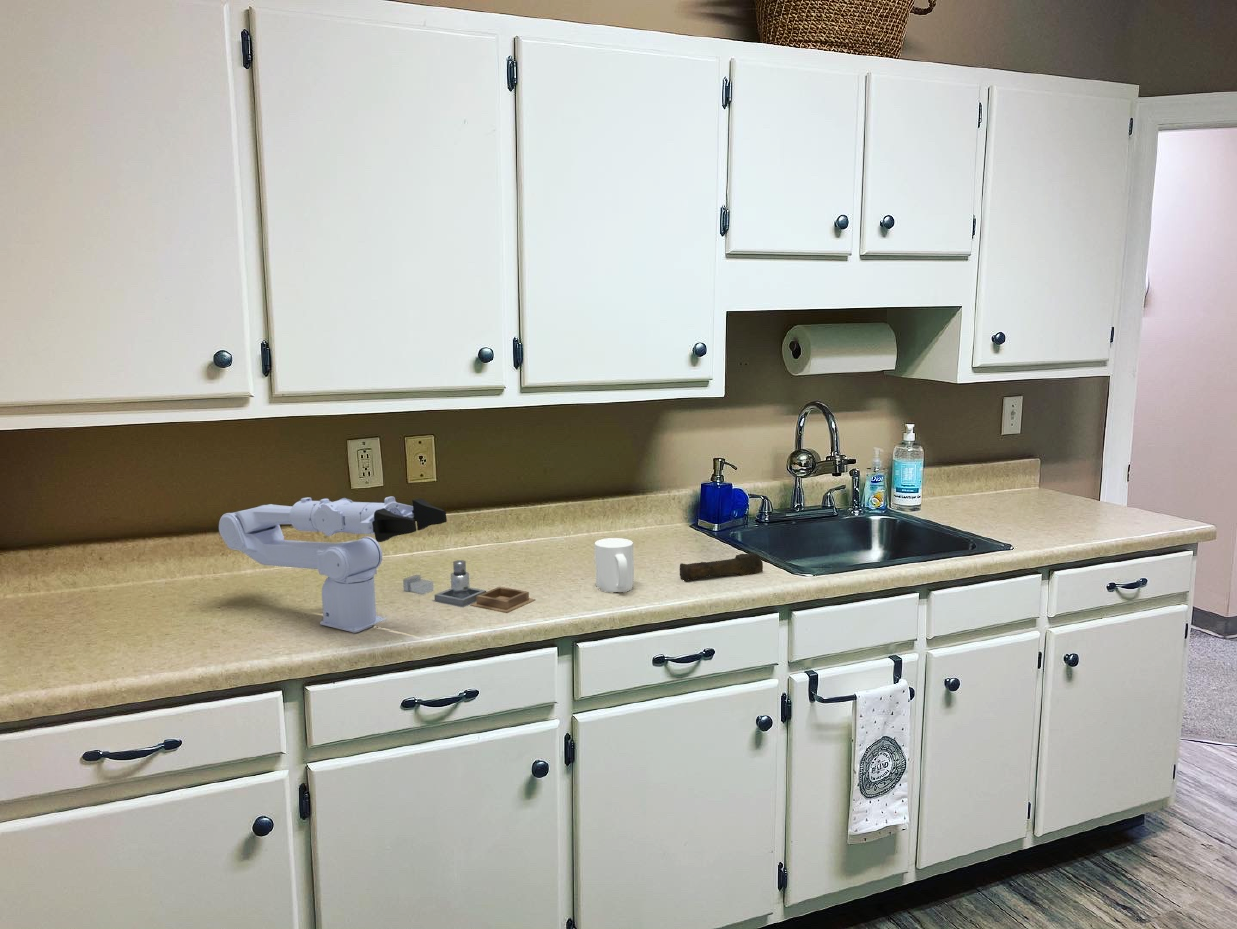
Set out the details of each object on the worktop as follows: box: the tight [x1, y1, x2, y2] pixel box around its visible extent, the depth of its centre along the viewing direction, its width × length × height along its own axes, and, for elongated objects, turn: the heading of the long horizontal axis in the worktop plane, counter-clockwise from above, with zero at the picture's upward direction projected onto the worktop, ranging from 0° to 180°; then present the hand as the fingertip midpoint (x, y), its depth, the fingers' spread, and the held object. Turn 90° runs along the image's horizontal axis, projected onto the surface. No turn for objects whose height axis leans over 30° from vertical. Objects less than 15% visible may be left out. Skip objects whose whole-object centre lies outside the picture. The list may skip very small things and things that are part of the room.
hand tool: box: [679, 552, 764, 582], centre depth 205 cm, size 19×4×5 cm, turn 106°
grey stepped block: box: [402, 574, 435, 595], centre depth 195 cm, size 5×4×3 cm
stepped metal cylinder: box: [450, 559, 471, 599], centre depth 189 cm, size 4×4×8 cm
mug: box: [594, 537, 635, 593], centre depth 197 cm, size 12×9×8 cm
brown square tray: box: [469, 586, 536, 614], centre depth 187 cm, size 9×9×2 cm
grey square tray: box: [432, 587, 487, 608], centre depth 190 cm, size 8×8×2 cm
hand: (430, 521), depth 164 cm, fingers open, 7 cm apart
